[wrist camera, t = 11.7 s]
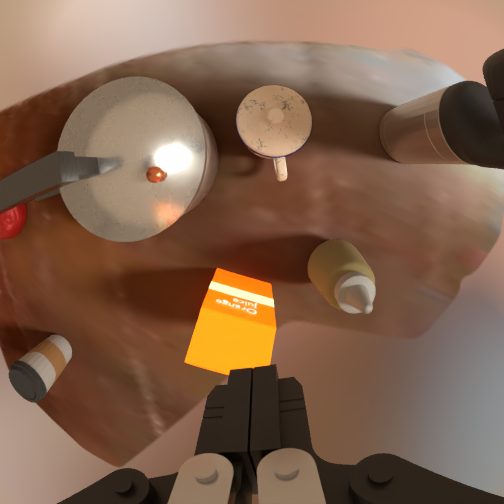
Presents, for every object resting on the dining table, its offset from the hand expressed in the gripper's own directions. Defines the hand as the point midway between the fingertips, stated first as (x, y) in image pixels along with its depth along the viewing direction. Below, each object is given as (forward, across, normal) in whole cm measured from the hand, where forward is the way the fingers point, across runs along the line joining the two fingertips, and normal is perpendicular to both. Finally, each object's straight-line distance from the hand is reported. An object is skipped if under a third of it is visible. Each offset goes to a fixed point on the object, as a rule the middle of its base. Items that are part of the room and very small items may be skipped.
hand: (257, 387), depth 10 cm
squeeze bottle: (+37, -10, +8) cm, 39 cm away
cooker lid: (+24, +17, -11) cm, 32 cm away
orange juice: (+37, +6, +12) cm, 39 cm away
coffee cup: (+36, +45, +18) cm, 60 cm away
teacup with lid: (+37, -4, -11) cm, 39 cm away
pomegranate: (+36, +45, -10) cm, 59 cm away
